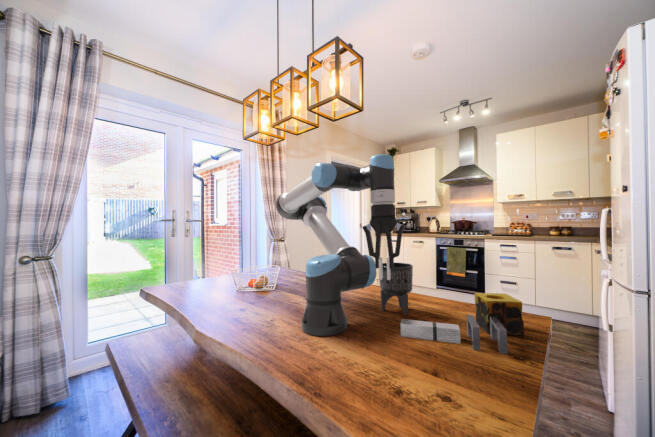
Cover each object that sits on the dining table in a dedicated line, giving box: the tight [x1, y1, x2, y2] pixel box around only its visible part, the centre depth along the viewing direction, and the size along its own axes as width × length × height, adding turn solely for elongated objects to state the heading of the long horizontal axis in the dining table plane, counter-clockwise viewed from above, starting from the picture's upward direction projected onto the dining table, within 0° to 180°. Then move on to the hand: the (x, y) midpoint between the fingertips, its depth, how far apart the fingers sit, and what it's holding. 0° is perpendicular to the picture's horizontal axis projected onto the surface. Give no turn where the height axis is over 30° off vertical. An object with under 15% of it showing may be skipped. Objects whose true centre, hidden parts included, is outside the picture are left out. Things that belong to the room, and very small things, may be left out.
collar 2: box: [490, 317, 508, 355], centre depth 71 cm, size 2×10×6 cm, turn 160°
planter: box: [379, 262, 414, 316], centre depth 101 cm, size 13×13×18 cm
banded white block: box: [400, 318, 462, 344], centre depth 77 cm, size 16×4×4 cm, turn 69°
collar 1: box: [466, 314, 481, 352], centre depth 73 cm, size 2×10×6 cm, turn 160°
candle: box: [474, 292, 525, 337], centre depth 82 cm, size 10×10×10 cm
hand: (384, 278), depth 81 cm, fingers open, 2 cm apart
